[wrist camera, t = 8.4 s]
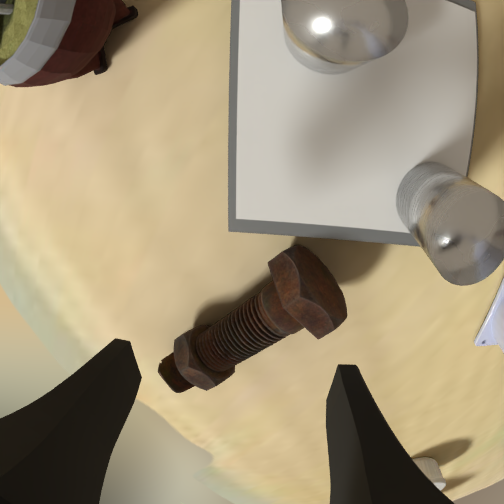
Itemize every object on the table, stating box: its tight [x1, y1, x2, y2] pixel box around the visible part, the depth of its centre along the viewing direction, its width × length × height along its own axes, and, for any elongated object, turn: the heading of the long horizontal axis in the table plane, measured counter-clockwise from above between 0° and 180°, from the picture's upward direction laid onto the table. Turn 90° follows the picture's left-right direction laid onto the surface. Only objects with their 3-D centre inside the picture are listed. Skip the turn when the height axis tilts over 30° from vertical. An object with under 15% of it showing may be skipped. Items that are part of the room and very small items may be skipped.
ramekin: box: [412, 457, 446, 491], centre depth 32 cm, size 11×11×5 cm
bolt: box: [158, 245, 347, 393], centre depth 21 cm, size 6×5×15 cm
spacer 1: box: [281, 0, 408, 75], centre depth 9 cm, size 4×4×5 cm
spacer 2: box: [396, 162, 504, 286], centre depth 12 cm, size 4×4×5 cm
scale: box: [228, 0, 478, 247], centre depth 12 cm, size 13×17×4 cm
